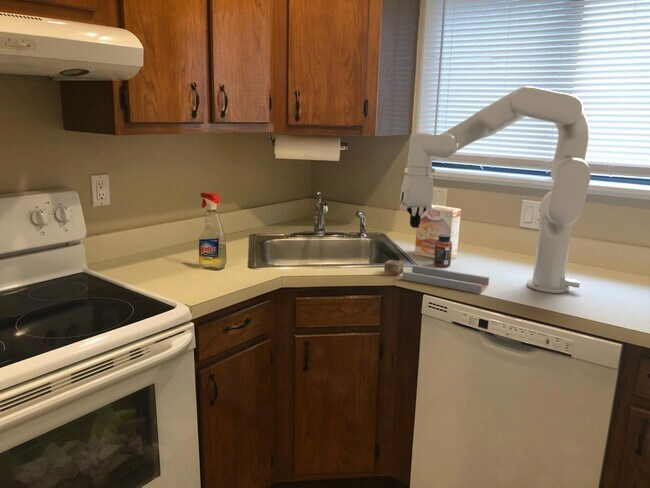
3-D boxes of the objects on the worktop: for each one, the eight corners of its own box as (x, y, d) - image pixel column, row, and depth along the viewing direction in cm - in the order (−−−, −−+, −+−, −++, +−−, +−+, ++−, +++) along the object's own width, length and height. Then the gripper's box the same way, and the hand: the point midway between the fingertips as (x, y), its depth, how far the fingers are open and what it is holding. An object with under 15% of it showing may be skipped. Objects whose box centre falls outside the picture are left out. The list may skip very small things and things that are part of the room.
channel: (488, 284, 176) (489, 277, 176) (480, 293, 167) (481, 285, 167) (413, 271, 188) (413, 264, 188) (402, 279, 180) (402, 272, 179)
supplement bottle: (450, 268, 194) (453, 237, 191) (433, 266, 195) (436, 236, 192) (450, 263, 200) (452, 234, 197) (433, 262, 201) (436, 233, 198)
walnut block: (403, 272, 187) (403, 261, 186) (397, 276, 183) (398, 265, 182) (389, 270, 190) (390, 259, 189) (384, 274, 185) (384, 262, 184)
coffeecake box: (414, 254, 212) (417, 205, 207) (423, 251, 217) (426, 203, 212) (448, 261, 202) (452, 210, 198) (457, 258, 208) (461, 208, 203)
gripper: (435, 170, 180) (430, 224, 184) (393, 170, 176) (389, 224, 181) (445, 173, 173) (440, 229, 177) (401, 172, 169) (397, 229, 174)
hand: (414, 227), depth 179 cm, fingers closed
